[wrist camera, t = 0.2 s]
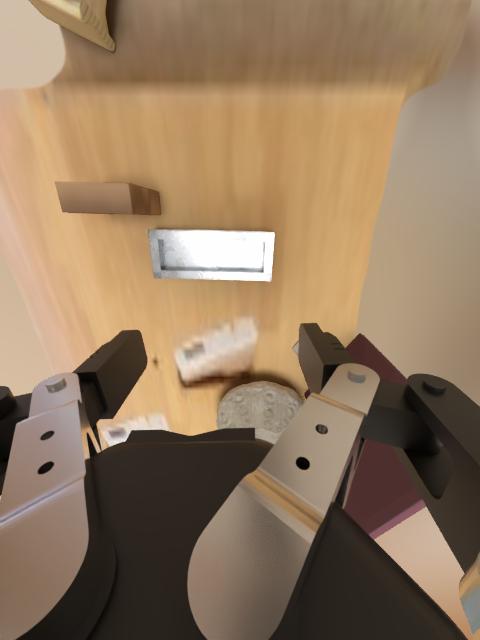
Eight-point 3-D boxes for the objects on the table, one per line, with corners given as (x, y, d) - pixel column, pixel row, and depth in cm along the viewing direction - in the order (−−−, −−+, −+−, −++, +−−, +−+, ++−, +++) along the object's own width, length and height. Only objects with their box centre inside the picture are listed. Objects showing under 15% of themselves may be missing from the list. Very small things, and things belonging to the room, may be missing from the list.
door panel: (104, 190, 35) (54, 181, 25) (159, 191, 34) (128, 182, 25) (109, 213, 36) (62, 212, 27) (161, 214, 36) (132, 214, 27)
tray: (156, 228, 36) (147, 229, 33) (271, 231, 36) (274, 232, 33) (161, 273, 39) (154, 278, 36) (268, 276, 39) (270, 281, 36)
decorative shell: (249, 443, 55) (250, 488, 46) (201, 395, 50) (191, 435, 40) (317, 410, 51) (333, 452, 42) (271, 353, 45) (278, 387, 36)
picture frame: (308, 396, 49) (364, 551, 26) (269, 375, 47) (293, 524, 24) (364, 335, 43) (499, 468, 20) (322, 310, 41) (418, 424, 18)
